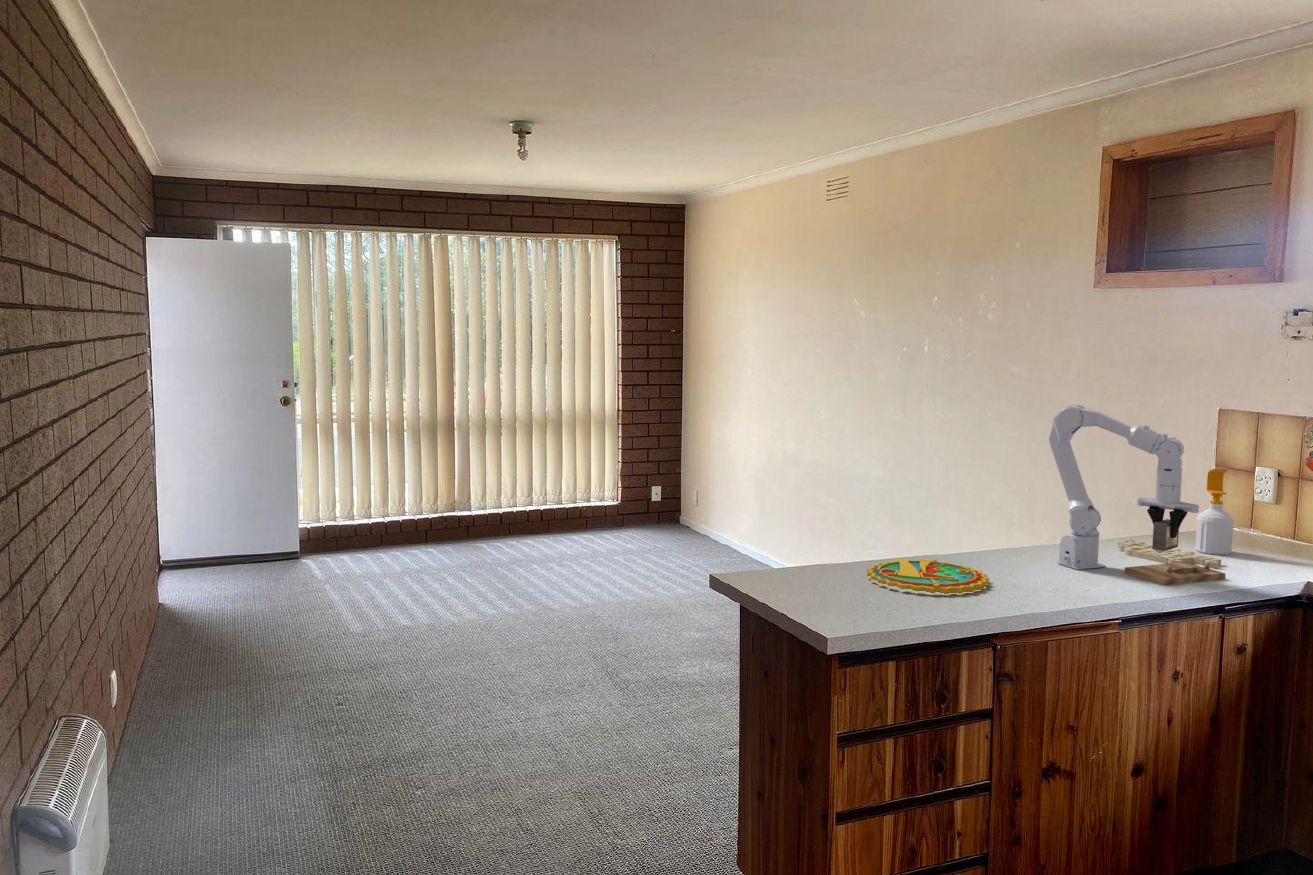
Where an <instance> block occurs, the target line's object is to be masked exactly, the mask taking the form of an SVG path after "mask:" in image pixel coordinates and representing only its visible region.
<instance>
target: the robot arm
mask: <svg viewBox="0 0 1313 875" xmlns="http://www.w3.org/2000/svg"><path fill="white" fill-rule="evenodd" d="M1052 422H1053V423H1052V427H1051V429H1050V430H1051V431H1050V434H1049V438H1048V443H1049V445H1050V448H1051V451H1052V454H1053V457H1054V461H1055V464H1056V467H1057V469H1058V472H1059V476H1060V479H1061V481H1062V482H1061V483H1062V485H1063V488H1064V491H1065V493H1066V496H1067V499H1068V512H1069V515H1070V519H1069V526H1070V527H1069V528H1071V529H1070V532H1069V533H1068V534H1065V535H1063V536H1062V537H1061V539H1060V543H1059V544H1060V545H1059V561H1057V564H1058V565H1062V566H1065V567H1069V568H1071V569H1075V570H1086V569H1087V570H1088V569H1099V568H1106V565H1105V564H1102V563H1099V549H1100V548H1099V545H1100V531H1099V530H1098V528H1097V527H1099V526H1100V525H1101V521H1102V516H1101V514H1100V512H1099V511H1098V509H1096V508H1095V506H1094V504H1093V501H1092V500H1091V498H1090V497H1089V496H1088V493H1087V490H1086V486H1085V483H1084V480H1083V477H1082V474H1081V471H1080V468H1079V465H1078V463H1077V459H1076V456H1075V453H1074V451H1073V448H1072V445H1071V440H1072V438H1074V436H1075V434H1076V432H1078V431H1079V429H1081V428H1087V427H1088V428H1089V427H1098V428H1101V429H1103V430H1105V431H1108V432H1110V433H1113V434H1116V435H1118V436H1120V437H1124V438H1125V439H1126V440H1127V443H1128V444H1129V446H1132V447H1134V448H1136V449H1139V450H1141V451H1144V452H1146V453H1148V454H1151V455H1156V457H1157V458H1158V459H1157V467H1156V480H1155V481H1156V485H1155V498H1147V497H1139V498H1137V504H1136V505H1137V507H1138V506H1139V507H1148V508H1147V509H1146V511H1147V514H1148V516H1149V517H1150V519H1151V522H1152V525H1153V526H1154V523H1155V522H1158V521H1162V520H1164V515H1165V510H1170V511H1169V512H1168V513H1169V519H1170V522H1171V528H1170V538H1175V537H1177V533H1178V530H1179V531H1180V527H1181V525H1182V523H1183V522H1184V519H1185V518H1186V516H1187V514H1188V512H1189V513H1192V514H1197V513H1199V512H1200V510H1199V508H1200V504H1195V503H1190V502H1185V501H1184V502H1183V501H1181V497H1182V496H1181V492H1182V478H1183V477H1182V474H1183V468H1182V465H1183V461H1182V458H1181V457H1182V456H1183V454H1184V452H1185V447H1184V444H1183V443H1182V442H1181V440H1179V439H1177V438H1176V437H1173V436H1172V437H1168V436H1169V434H1166V433H1163V434H1161V433H1160V432H1157V431H1155V430H1153V429H1151V428H1150V425H1147V424H1144V425H1141V424H1139V425H1135V426H1130V425H1129V424H1126V423H1124V422H1122V421H1120V420H1118V419H1115V418H1114V417H1111V416H1109V415H1107V414H1105V413H1102V412H1100V411H1098V410H1095V409H1092V408H1090V407H1084V405H1080V404H1072V405H1070V406H1064V407H1062V408H1061V409H1059V411H1058V412H1057V414H1056V415H1055V416H1054V417H1053V420H1052ZM1171 510H1172V511H1171Z"/></svg>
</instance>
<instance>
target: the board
mask: <svg viewBox="0 0 1313 875" xmlns="http://www.w3.org/2000/svg"><path fill="white" fill-rule="evenodd" d="M1123 570H1124V574H1125V575H1129V576H1132V577H1135V578H1138V579H1141V580H1144V581H1148V582H1151V583H1154V584H1158V585H1159V586H1160V585H1161V586H1170V585H1171V586H1172V585H1184V584H1193V583H1194V584H1195V583H1203V582H1211V581H1212V582H1213V581H1214V582H1215V581H1223V580H1226V572H1221V571H1218V570H1216V569H1212V568H1210V564H1209V563H1204V565H1203V566H1201V565H1198V564H1193V563H1186V562H1179V563H1168V564H1165V563H1158V564H1147V565H1137V566H1135V565H1134V566H1127V567H1124V569H1123Z"/></svg>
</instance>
